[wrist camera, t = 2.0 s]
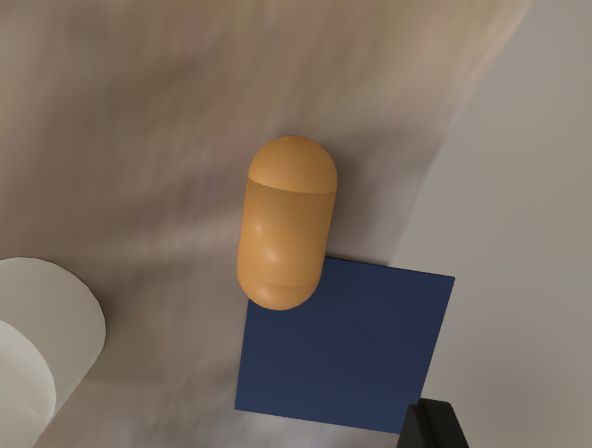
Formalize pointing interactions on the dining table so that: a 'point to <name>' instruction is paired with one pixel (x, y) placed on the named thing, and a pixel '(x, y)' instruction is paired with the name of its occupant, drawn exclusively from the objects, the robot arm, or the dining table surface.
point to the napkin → (345, 347)
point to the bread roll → (286, 222)
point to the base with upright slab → (42, 344)
